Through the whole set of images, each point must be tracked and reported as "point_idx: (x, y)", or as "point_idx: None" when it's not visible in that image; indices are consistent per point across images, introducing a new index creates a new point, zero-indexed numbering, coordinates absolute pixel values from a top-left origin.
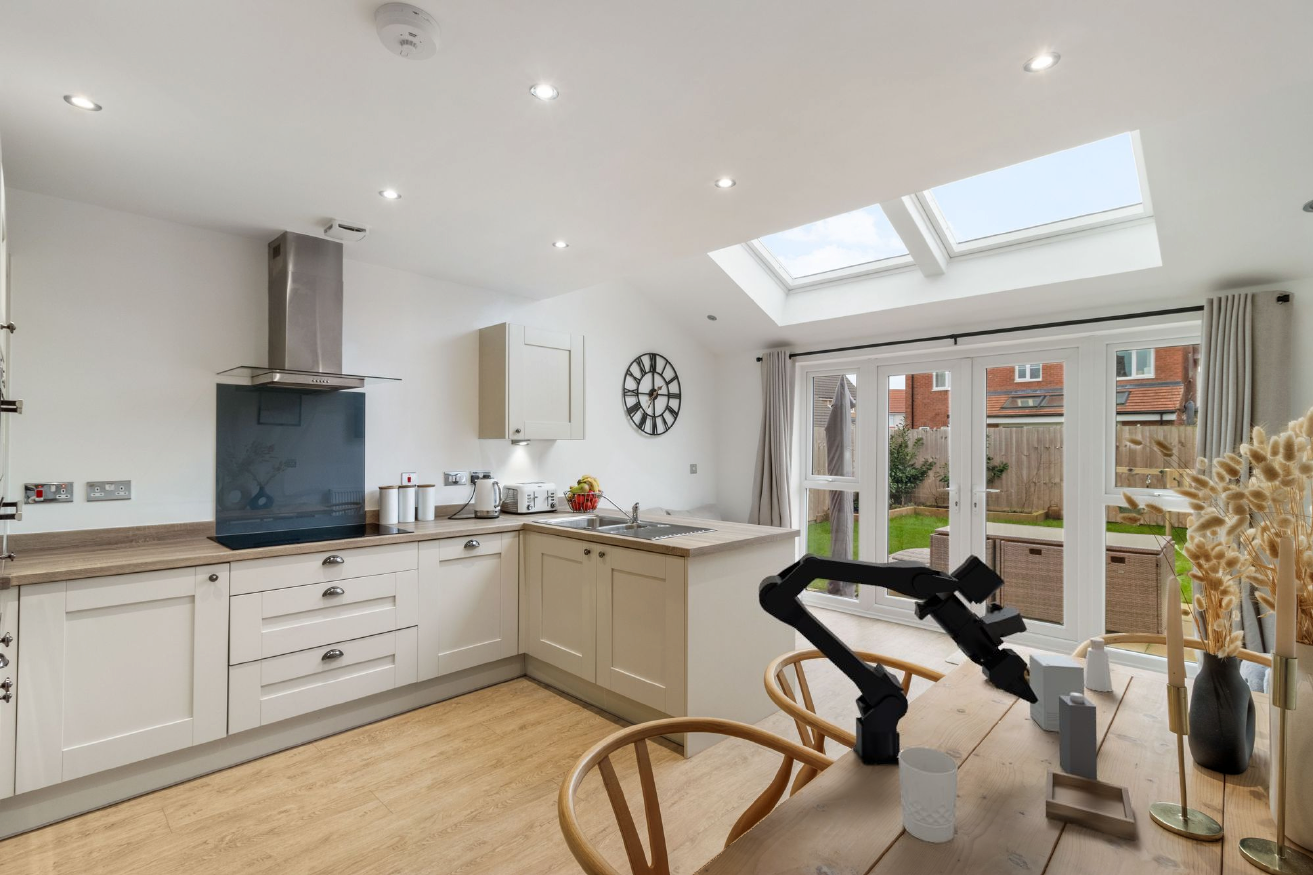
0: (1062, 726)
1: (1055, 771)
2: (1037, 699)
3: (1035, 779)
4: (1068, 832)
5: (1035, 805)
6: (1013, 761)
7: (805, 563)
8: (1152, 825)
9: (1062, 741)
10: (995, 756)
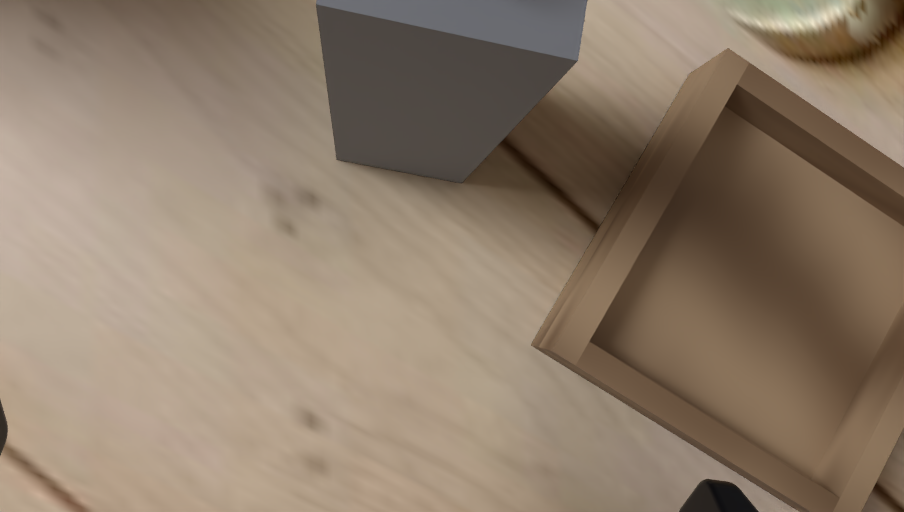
0: (389, 108)
1: (578, 318)
2: (739, 496)
3: (483, 376)
4: (895, 474)
5: None
6: (292, 392)
7: None
8: (837, 91)
9: (380, 133)
10: (231, 468)
